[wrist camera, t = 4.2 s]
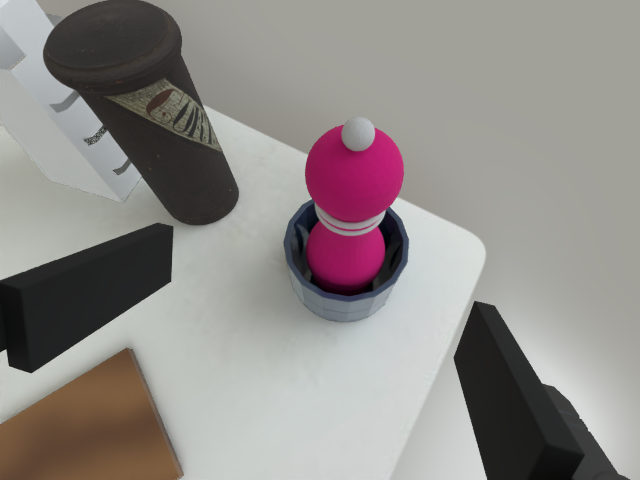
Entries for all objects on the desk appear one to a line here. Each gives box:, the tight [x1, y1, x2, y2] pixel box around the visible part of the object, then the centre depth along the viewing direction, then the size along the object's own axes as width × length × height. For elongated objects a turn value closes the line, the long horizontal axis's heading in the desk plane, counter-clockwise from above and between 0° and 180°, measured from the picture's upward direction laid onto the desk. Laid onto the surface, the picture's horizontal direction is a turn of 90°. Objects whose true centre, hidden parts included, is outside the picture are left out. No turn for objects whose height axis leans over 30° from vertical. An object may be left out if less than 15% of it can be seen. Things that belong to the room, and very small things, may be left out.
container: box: [43, 0, 239, 225], centre depth 31 cm, size 9×9×20 cm
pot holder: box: [0, 348, 184, 480], centre depth 28 cm, size 12×12×1 cm
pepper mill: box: [305, 116, 404, 296], centre depth 26 cm, size 7×7×20 cm
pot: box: [284, 199, 409, 322], centre depth 32 cm, size 11×11×7 cm
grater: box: [0, 0, 142, 203], centre depth 34 cm, size 10×10×20 cm
